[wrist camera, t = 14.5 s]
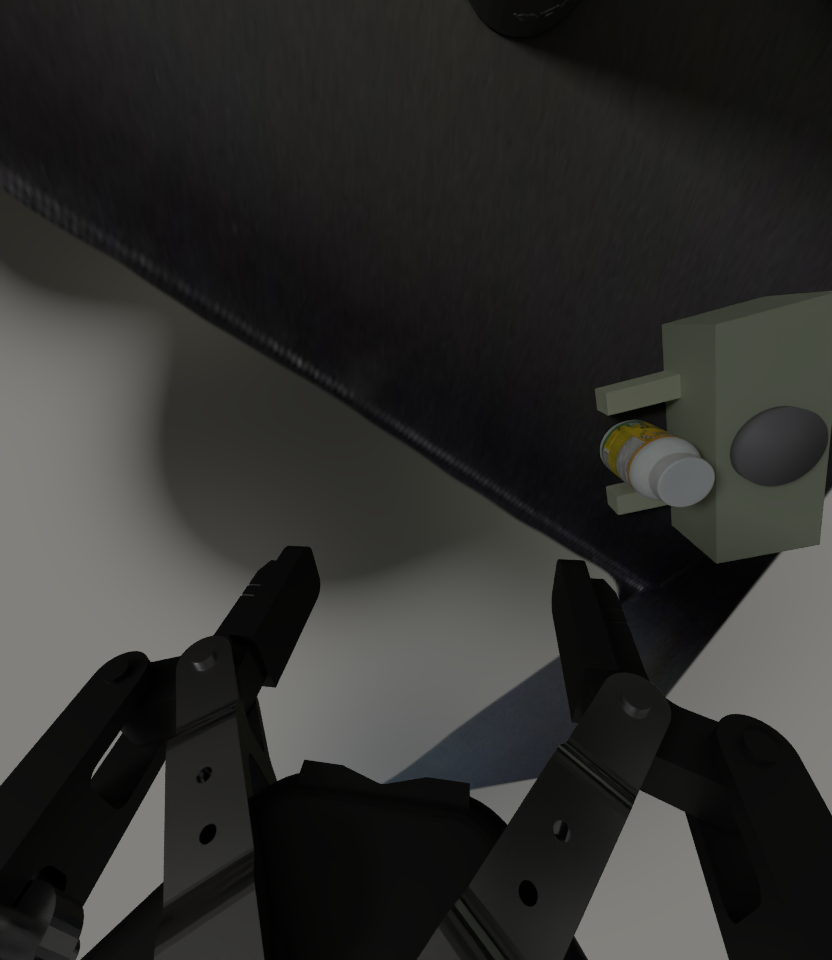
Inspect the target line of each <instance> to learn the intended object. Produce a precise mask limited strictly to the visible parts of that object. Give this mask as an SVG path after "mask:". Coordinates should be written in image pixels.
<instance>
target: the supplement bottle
mask: <svg viewBox="0 0 832 960" xmlns="http://www.w3.org/2000/svg"><path fill="white" fill-rule="evenodd" d="M600 455H601V459H602V461H603V463H604V464H605V465H606V467H608V468H609V469H610V470H611V471H612V472H613V473H615V474H616V475H617V476H618V477H619V478H621V479H622V480H623V481H624V482H626V483H627V484H628V485H629V486H630V487H631V488H633V489H634V490H635V491H636V492H637V493H639V494H640V495H642V496H643V497H646V498H648V499H652V500H662V501H663V502H664V503H666V504H668V505H670V506H673V507H687V506H690V505H693V504H695V503H697V502H699V501H701V500H702V499H703V498H705V497H706V495H707V494H708V493H709V492H710V490H711V489H712V487H713V484H714V480H715V474H714V470H713V468H712V466H711V465H710V464H709V463H708V462H707V461H705V460H704V459H702V458H701V457H700V454H699V452H698V450H697V449H696V448H695V447H694V446H693V445H692V444H691V443H689V442H688V441H687V440H684V439H682V438H680V437H678V436H675V435H673V434H671V433H669V432H667V431H665V430H663V429H660V428H658V427H656V426H654V425H652V424H650V423H647V422H645V421H642V420H629V421H624V422H621V423H618V424H617V425H615V426H613V427H612V428H611V429H610V430H609V431H608V432H607V433H606V434H605V436H604V438H603V440H602V442H601V446H600Z"/></svg>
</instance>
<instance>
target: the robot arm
mask: <svg viewBox="0 0 832 960" xmlns="http://www.w3.org/2000/svg"><path fill="white" fill-rule="evenodd" d="M578 1H579V0H469V2H470V3H471V5H472V7H473V9H474V10H475V12H476V14H477V15H478V16H479V17H480V18H481V19H482V20H483V21H484V22H485V24H486V25H488V26H489V27H491V28H492V29H494V30H495V31H497V32H498V33H501V34H504V35H507V36H511V37H529V36H533V35H537V34H540V33H542V32H544V31H546V30H548V29H550V28H551V27H553V26H555V25H556V24H557V23H558V22H559V21H561V20H562V19H563V18H564V17H565V16H566V15H567V14H568V13H569V12H570V11H571V9H572V8H573V7H574V6H575V4H576V3H577V2H578ZM319 592H320V578H319V574H318V570H317V567H316V563H315V560H314V556H313V552H312V550H311V548H310V547H303V546H287V547H286V548H284V550H283V551H282V553H281V554H280V556H279V557H278V559H277V560H276V561H274V560H271V561H270V562H268V563H267V564H266V565H265V566H264V567H262V568H261V569H260V570H258V571H257V573H256V574H255V576H254V577H253V579H252V580H251V582H250V583H249V586H247V587H246V589H245V590H244V592H243V593H242V594H243V595H242V596H240V598H239V599H238V601H237V602H236V603H235V605H234V606H233V608H232V609H231V611H230V613H229V614H228V615H227V617H226V618H225V619H224V621H223V622H222V624H221V625H220V627H219V628H218V630H217V631H216V633H215V634H214V635H213V636H210V637H206V638H203V639H201V640H199V641H197V642H196V643H194V644H193V645H191V646H190V647H189V648H188V649H187V650H186V651H185V652H184V653H183V654H182V655H181V656H179V657H174V658H170V659H164V660H160V661H155V662H150V660H149V659H148V658H147V656H146V655H145V654H144V653H142V652H138V651H132V652H127V653H124V654H121V655H119V656H117V657H115V658H113V659H111V660H110V661H108V662H107V663H105V664H104V665H103V666H102V667H101V668H100V669H99V670H98V671H97V672H96V673H95V674H94V675H93V676H92V677H91V679H90V680H89V681H88V682H87V683H86V685H85V686H84V687H83V688H82V689H81V691H80V692H79V693H78V694H77V696H76V697H75V698H74V699H73V700H72V701H71V702H70V704H69V705H68V706H67V707H66V708H65V710H64V711H63V712H62V713H61V714H60V716H59V717H58V718H57V719H56V720H55V722H54V723H53V724H52V725H51V726H50V727H49V729H48V730H47V731H46V732H45V734H44V735H43V736H42V737H41V738H40V739H39V741H38V742H37V743H36V744H35V745H34V747H33V748H32V749H31V750H30V751H29V752H28V754H27V755H26V756H25V757H24V758H23V760H22V761H21V762H20V763H19V764H18V766H17V767H16V768H15V769H14V770H13V772H12V773H11V774H10V775H9V776H8V777H7V779H6V780H5V781H4V782H3V784H2V785H1V786H0V960H76V958H77V955H78V953H79V949H80V940H79V937H80V934H81V931H82V927H83V920H84V911H83V905H84V904H85V902H86V900H87V898H88V897H89V895H90V893H91V891H92V889H93V888H94V886H95V884H96V882H97V881H98V879H99V877H100V875H101V873H102V872H103V870H104V868H105V866H106V864H107V863H108V861H109V859H110V857H111V856H112V854H113V852H114V850H115V848H116V847H117V845H118V843H119V841H120V840H121V838H122V836H123V834H124V833H125V831H126V829H127V827H128V825H129V824H130V822H131V820H132V818H133V817H134V815H135V813H136V811H137V810H138V807H139V806H140V804H141V802H142V800H143V799H144V797H145V795H146V794H147V792H148V790H149V788H150V786H151V784H152V783H153V781H154V779H155V778H156V776H157V774H158V772H159V770H160V769H161V767H162V765H163V763H164V761H165V760H166V772H165V831H164V832H165V833H164V882H163V883H162V884H161V885H160V886H159V887H157V888H156V889H155V890H154V891H153V892H152V893H151V894H150V895H149V896H148V897H147V898H146V899H145V900H144V901H143V902H141V903H140V904H139V905H138V907H136V908H135V909H134V910H133V911H132V912H131V913H130V914H129V915H128V916H127V917H125V918H124V919H123V920H122V921H121V922H120V923H119V924H118V925H117V926H116V927H115V928H114V929H113V930H112V931H111V932H110V933H108V934H107V935H106V936H105V937H104V938H103V939H102V940H101V941H100V942H99V943H98V944H97V945H96V946H95V947H94V948H93V949H92V950H90V951H89V952H88V953H87V954H86V955H85V956H84V957H83V958H82V959H81V960H588V959H587V957H586V956H585V954H584V952H583V950H582V949H581V947H580V945H579V944H578V942H577V940H576V938H575V937H574V934H575V932H576V930H577V928H578V926H579V923H580V921H581V919H582V917H583V915H584V912H585V910H586V908H587V906H588V904H589V901H590V899H591V897H592V895H593V893H594V890H595V888H596V886H597V884H598V881H599V879H600V877H601V875H602V873H603V870H604V868H605V866H606V864H607V862H608V859H609V857H610V855H611V853H612V850H613V848H614V846H615V844H616V842H617V839H618V837H619V835H620V833H621V831H622V828H623V826H624V824H625V822H626V819H627V817H628V815H629V813H630V811H631V809H632V806H633V804H634V801H635V799H636V796H637V794H638V792H639V790H641V791H643V792H645V793H648V794H649V795H651V796H654V797H656V798H658V799H660V800H662V801H664V802H666V803H668V804H670V805H672V806H674V807H676V808H678V809H680V810H682V811H685V813H686V816H687V820H688V823H689V827H690V830H691V834H692V837H693V840H694V844H695V847H696V850H697V854H698V857H699V860H700V864H701V867H702V871H703V874H704V877H705V881H706V884H707V887H708V891H709V894H710V897H711V901H712V904H713V907H714V911H715V914H716V917H717V921H718V924H719V928H720V931H721V934H722V938H723V941H724V944H725V948H726V951H727V954H728V958H729V960H832V815H831V813H830V811H829V810H828V808H827V806H826V804H825V802H824V800H823V799H822V797H821V795H820V793H819V791H818V790H817V788H816V786H815V784H814V782H813V781H812V779H811V777H810V775H809V773H808V771H807V769H806V768H805V766H804V764H803V762H802V761H801V759H800V757H799V755H798V754H797V752H796V750H795V749H794V748H793V747H792V745H791V744H790V743H789V742H788V741H787V740H786V739H785V738H784V737H783V736H782V735H781V734H780V733H779V732H777V731H776V730H775V729H773V728H772V727H770V726H769V725H767V724H766V723H764V722H762V721H760V720H757V719H756V718H752V717H750V716H746V715H741V714H731V715H727V716H725V717H723V718H722V719H721V720H720V721H719V722H717V721H715V720H712V719H709V718H706V717H704V716H701V715H699V714H696V713H694V712H691V711H688V710H686V709H684V708H681V707H679V706H677V705H676V704H674V703H672V702H671V701H669V700H668V699H666V697H665V696H664V695H663V693H662V692H661V691H660V690H659V689H658V688H657V687H656V686H655V685H654V684H653V683H651V682H650V680H649V679H648V677H647V674H646V672H645V669H644V667H643V664H642V661H641V659H640V656H639V653H638V650H637V648H636V645H635V642H634V640H633V637H632V634H631V632H630V629H629V626H628V625H627V621H626V618H625V615H624V613H623V612H622V607H621V605H620V602H619V599H618V597H617V594H616V592H615V591H614V590H613V589H612V588H611V587H610V586H609V585H608V583H607V582H606V581H605V580H604V579H592V578H590V576H589V572H588V569H587V566H586V563H585V561H583V560H563V559H561V560H560V559H558V561H557V564H556V571H555V578H554V584H553V591H552V614H553V620H554V626H555V631H556V637H557V642H558V648H559V653H560V659H561V665H562V670H563V676H564V681H565V687H566V692H567V698H568V704H569V709H570V715H571V720H572V722H575V723H578V725H577V726H576V728H575V730H574V731H573V733H572V734H571V736H570V737H569V739H568V740H567V742H566V743H565V744H561V745H560V746H559V747H558V748H557V749H556V751H555V752H554V754H553V755H552V757H551V758H550V760H549V761H548V763H547V765H546V766H545V768H544V769H543V771H542V772H541V774H540V775H539V777H538V779H537V780H536V782H535V783H534V785H533V786H532V788H531V790H530V791H529V793H528V794H527V796H526V797H525V799H524V800H523V802H522V803H521V805H520V807H519V808H518V810H517V811H516V813H515V814H514V816H513V818H512V819H511V821H510V822H509V824H508V825H507V824H506V823H505V822H504V821H503V820H502V819H501V818H500V817H499V816H498V815H497V814H496V813H495V812H494V811H493V810H491V809H490V808H489V807H487V806H486V805H484V804H483V803H481V802H480V801H478V800H476V799H474V798H472V797H470V783H463V782H456V781H449V780H442V779H435V778H428V777H425V778H419V779H413V780H407V781H401V782H395V783H389V784H379V783H377V782H375V781H373V780H371V779H369V778H367V777H365V776H363V775H361V774H359V773H357V772H355V771H353V770H351V769H349V768H347V767H345V766H343V765H337V764H330V763H323V762H316V761H309V760H304V763H303V765H302V768H301V771H300V773H298V774H294V775H291V776H288V777H285V778H283V779H281V780H279V781H277V779H276V776H275V773H274V771H273V767H272V764H271V761H270V757H269V752H268V747H267V742H266V737H265V732H264V727H263V722H262V716H261V711H260V706H259V702H258V698H257V695H258V693H259V691H260V689H261V687H262V686H266V687H276V686H277V684H278V681H279V679H280V676H281V675H282V673H283V671H284V669H285V667H286V664H287V662H288V660H289V658H290V656H291V654H292V652H293V650H294V647H295V645H296V643H297V641H298V639H299V637H300V634H301V632H302V630H303V628H304V626H305V624H306V622H307V619H308V617H309V615H310V613H311V611H312V609H313V607H314V605H315V603H316V600H317V598H318V595H319ZM120 730H121V731H122V735H121V736H120V738H119V739H118V740H117V742H116V743H115V745H114V746H113V748H112V749H111V751H110V752H109V754H108V755H107V757H106V758H105V760H104V761H103V763H102V764H101V766H100V767H99V768H98V770H97V771H96V773H95V774H94V776H93V777H92V773H93V771H94V769H95V767H96V765H97V764H98V762H99V761H100V759H101V758H102V756H103V755H104V753H105V752H106V751H107V749H108V748H109V746H110V745H111V743H112V742H113V740H114V739H115V738H116V736H117V735H118V733H119V731H120ZM91 777H92V779H91Z"/></svg>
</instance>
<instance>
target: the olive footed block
mask: <svg viewBox="0 0 832 960" xmlns="http://www.w3.org/2000/svg"><path fill="white" fill-rule="evenodd" d="M662 340H663V360H664V371H662V372H658V373H655V374H651V375H647V376H643V377H639V378H635V379H631V380H627V381H624V382H620V383H616V384H612V385H608V386H604V387H600V388H596V389H595V394H596V403H597V410H599V411H600V412H602V413H604V414H606V415H608V416H609V415H613V414H617V413H621V412H625V411H629V410H633V409H637V408H641V407H645V406H649V405H653V404H657V403H661V402H666V418H667V432H669V433H671V434H673V435H675V436H678V437H680V438H682V439H684V440H687V441H688V442H689V443H691V444H692V445H693V446H694V447H695V448H696V449H697V450H698V452H699V454H700V457H701V458H702V459H704V460H705V461H707V462H708V463H709V464H710V465H711V466H712V468H713V470H714V474H715V480H714V484H713V487H712V489H711V490H710V492H709V493H708V494H707V495H706V497H705V498H703V499H702V500H701V501H699V502H697V503H695V504H693V505H690V506H687V507H673V506H671V516H672V526H674V527H675V528H676V529H677V530H678V531H679V532H681V533H682V534H683V535H684V536H685V537H686V538H688V539H689V540H690V541H691V542H692V543H693V544H694V545H696V546H697V547H698V548H699V549H700V550H701V551H703V552H704V553H705V554H706V555H707V556H708V557H710V558H711V559H712V560H713V561H714V562H715V563H722V562H728V561H733V560H739V559H744V558H749V557H755V556H760V555H766V554H771V553H776V552H782V551H787V550H793V549H798V548H803V547H809V546H814V545H819V544H820V534H821V524H822V514H823V504H824V494H825V484H826V475H827V465H828V455H829V445H830V435H831V425H832V291H824V292H812V293H801V294H789V295H777V296H766V297H761V298H757V299H753V300H750V301H746V302H742V303H739V304H735V305H731V306H728V307H724V308H721V309H717V310H713V311H710V312H706V313H702V314H699V315H695V316H691V317H688V318H684V319H681V320H677V321H673V322H670V323H666V324H662ZM606 490H607V499H608V504H609V505H610V507H611V508H612V509H613V510H614V511H615V512H616V513H617V514H618V515H621V514H626V513H631V512H635V511H640V510H645V509H650V508H655V507H659V506H664V505H668V504H666V503H664V502H663V501H662V500H652V499H648V498H646V497H643V496H642V495H640V494H639V493H637V492H636V491H635V490H634V489H633V488H631V487H630V486H629V485H628V484H627V483H626V482H624V483H619V484H615V485H610V486H606Z"/></svg>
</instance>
